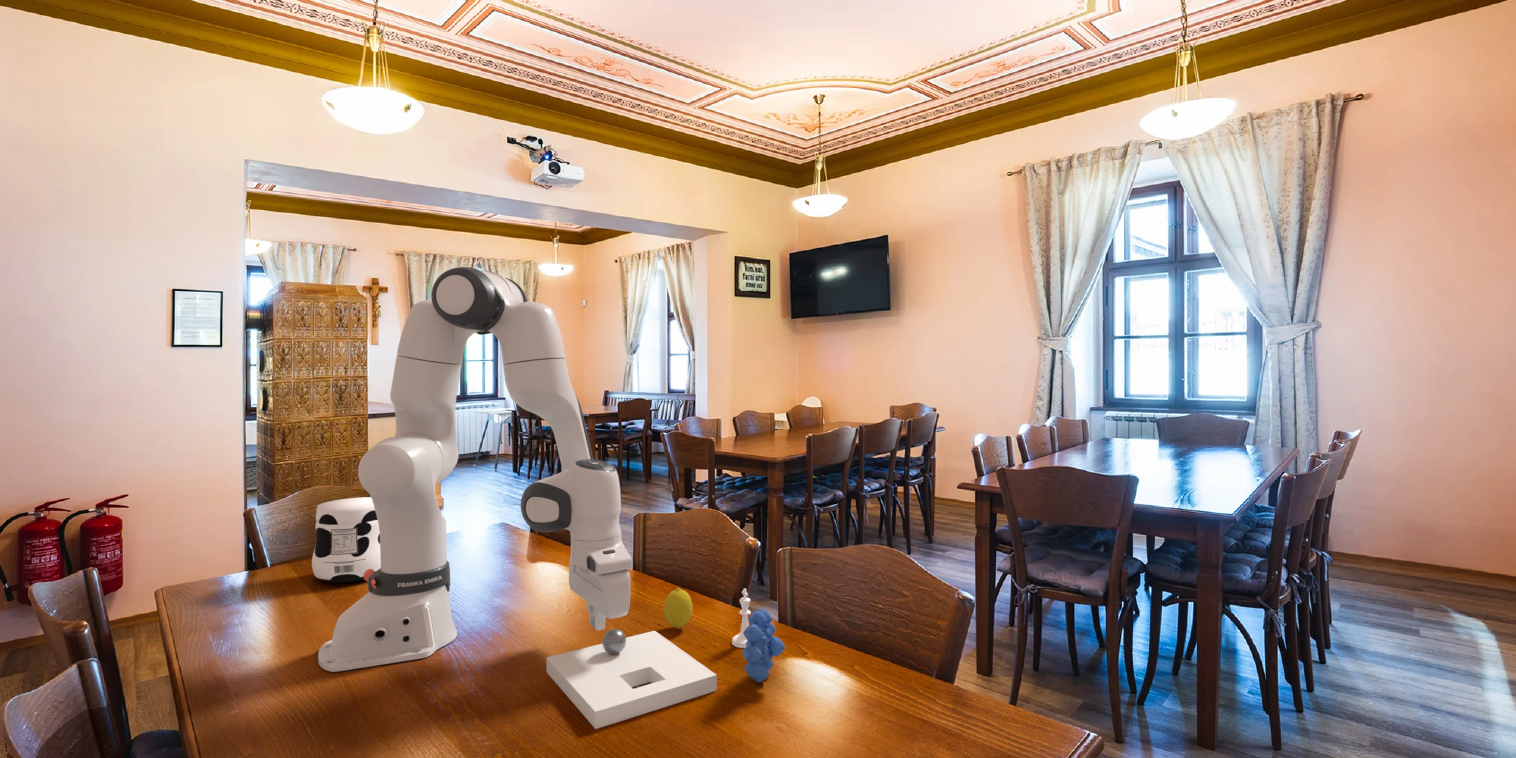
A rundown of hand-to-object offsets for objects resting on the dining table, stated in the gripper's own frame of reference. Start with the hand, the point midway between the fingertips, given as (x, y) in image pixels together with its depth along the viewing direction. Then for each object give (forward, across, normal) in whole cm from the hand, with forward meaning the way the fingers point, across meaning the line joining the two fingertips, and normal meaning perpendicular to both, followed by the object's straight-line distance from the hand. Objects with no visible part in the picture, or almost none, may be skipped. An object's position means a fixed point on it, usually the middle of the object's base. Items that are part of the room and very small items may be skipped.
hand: (597, 627), depth 124 cm
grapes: (+5, +27, +18) cm, 33 cm away
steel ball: (0, +8, 0) cm, 8 cm away
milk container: (+4, -76, -32) cm, 83 cm away
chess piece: (+5, +12, +24) cm, 27 cm away
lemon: (+5, -1, +17) cm, 17 cm away
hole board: (+4, +14, 0) cm, 15 cm away
